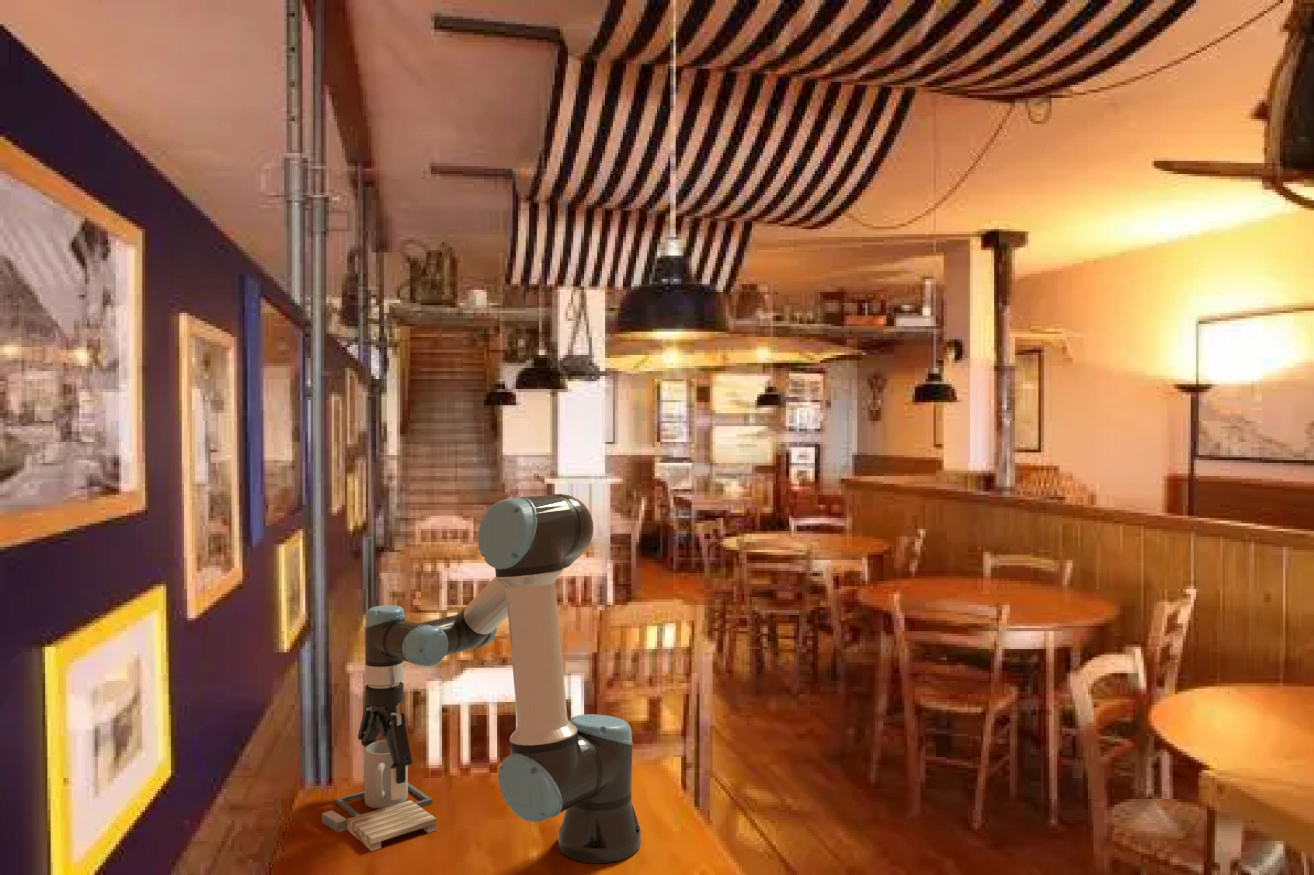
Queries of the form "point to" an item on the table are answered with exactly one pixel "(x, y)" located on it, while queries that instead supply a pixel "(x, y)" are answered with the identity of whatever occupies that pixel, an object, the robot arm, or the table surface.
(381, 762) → the mug
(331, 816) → the grey rectangular bar
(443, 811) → the table surface
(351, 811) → the socket frame
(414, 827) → the rack
